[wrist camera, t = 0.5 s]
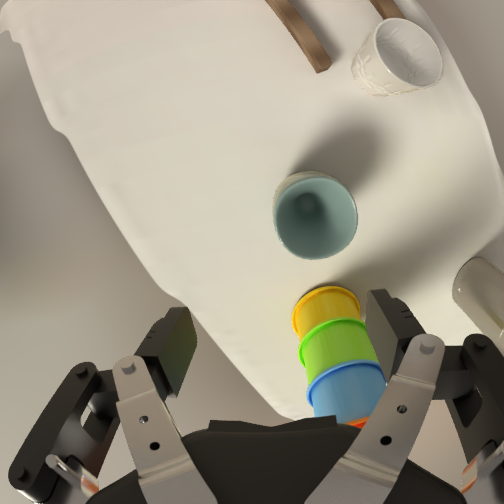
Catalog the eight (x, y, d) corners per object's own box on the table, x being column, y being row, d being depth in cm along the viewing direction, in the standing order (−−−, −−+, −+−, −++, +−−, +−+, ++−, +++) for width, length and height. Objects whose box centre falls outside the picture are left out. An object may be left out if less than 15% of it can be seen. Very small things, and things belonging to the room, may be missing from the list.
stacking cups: (367, 287, 37) (474, 526, 5) (348, 343, 41) (399, 556, 8) (298, 280, 37) (333, 577, 5) (285, 338, 41) (288, 577, 9)
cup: (263, 178, 33) (260, 191, 23) (324, 160, 31) (347, 165, 22) (283, 237, 35) (288, 271, 26) (341, 219, 34) (366, 246, 24)
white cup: (413, 84, 26) (455, 70, 17) (374, 112, 28) (411, 102, 19) (375, 37, 24) (407, 8, 15) (334, 62, 26) (356, 34, 17)
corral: (409, 44, 24) (418, 38, 21) (317, 73, 27) (321, 67, 24) (350, -34, 19) (354, -44, 17) (256, -10, 23) (255, -21, 20)
